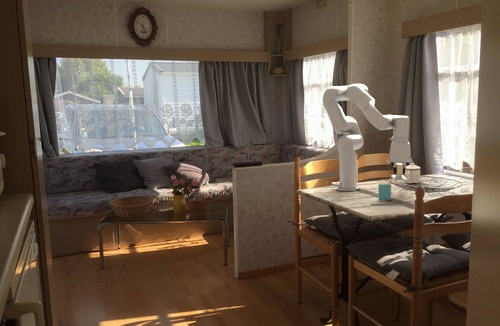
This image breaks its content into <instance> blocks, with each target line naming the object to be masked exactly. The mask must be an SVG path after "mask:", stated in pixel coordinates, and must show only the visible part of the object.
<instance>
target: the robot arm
mask: <svg viewBox="0 0 500 326" xmlns="http://www.w3.org/2000/svg"><path fill="white" fill-rule="evenodd" d="M344 101H351V102H353V103H354V104H355V105H356V106H357V107H358V108H359V109H360V110H361V111H362V112H363V115H364V117H365V119H366V121H368V122H369V123H370V124H371V125H373V127H374V128H375V129H377V130H378V131H385V130H392V129H393V135H392V137H390V138H389V140H390V141H392V142H391V144H390V149H389V156H388V158H387V160H386V162H387V164H389V165H391V166H392V167H393V170H392V171H393V175H397V167H396V164H397V163H402V164H403V176H405V168H406V167H407V166H409V165H411V163H414V160H413V158H412V157H411V155H412V153H411V143H410V142H409V133H410V117H409V116H407V115H393V114H386V115H385V114H384V115H383V114H382V113H381V112H380V111H379V110H378V109H377V108H376V107H375V104H376V103H375V102H376V100H375V98H373V97H372V96H371V95H370V94H369V88H368V87H367V86H366V85H365V84H362V83H353V84H350V85H341V86H340V85H339V86H338V85H336V86H330V87H328V88H327V89H326V90H325V91H324V92H323V95H322V104H323V107H324V110H325V111H326V113H327V115H328V119H329V121H330V123H331V126H332V129H333V130H334V132H335V133H336V134H338V135H342V134H344V135H342V136H340V137H339V139H338V140H337V150H338V156H339V157H338V159H339V181H337V182H331V186H332V187H337V190H338V191H341V192H355V191H359V190H360V188H361V187H360V186H358V183H357V182H358V177H357V175H358V174H357V170H358V168H357V155H356V152H355V151H356V150H359V149H361V148H362V147H363V145H364V138H363V137H364V136H363V135H362V132H361V130H360V127H359V125H358V122H357V121H356V119H354V117H352V116H346V115H345V113H344V111H343V109H342V107H341V105H340V104H339V103H338V102H344Z"/></svg>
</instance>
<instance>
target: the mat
mask: <svg viewBox="0 0 500 326" xmlns="http://www.w3.org/2000/svg"><path fill="white" fill-rule="evenodd" d="M370 206H371V207H377V206H378V207H381V206H382V207H383V206H389V207H391V206H395V207H396V206H397V207H398V206H404V207H405V206H406V204H405V203H370Z"/></svg>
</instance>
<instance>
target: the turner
mask: <svg viewBox="0 0 500 326" xmlns="http://www.w3.org/2000/svg"><path fill="white" fill-rule="evenodd" d="M396 167H397V175H395V174H391V178H392V179H393V181H401V182H402V181H404V182H405V181H407V179H406V178H405V175H403V162H397V164H396Z"/></svg>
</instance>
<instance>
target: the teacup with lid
mask: <svg viewBox="0 0 500 326" xmlns="http://www.w3.org/2000/svg"><path fill="white" fill-rule="evenodd" d="M404 177H405V178H406V179H407V181H404V183H406V184H410V183H417V184H420V183H421V167H420V166H418V165H416V164H415V163H414V162H412V163H410V164H409V165H407V166H406V168H405V173H404ZM419 182H420V183H419Z"/></svg>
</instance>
